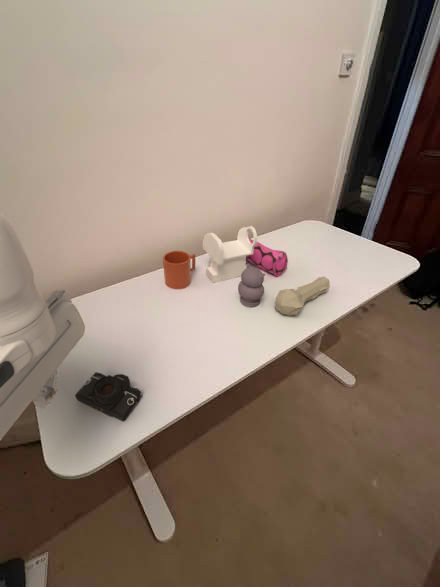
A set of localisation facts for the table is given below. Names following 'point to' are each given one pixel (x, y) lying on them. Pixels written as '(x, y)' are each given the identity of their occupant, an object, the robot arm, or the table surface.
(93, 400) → the film camera
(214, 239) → the tape dispenser
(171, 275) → the mug
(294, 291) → the faceted club
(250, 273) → the cat figurine
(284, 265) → the pencil case
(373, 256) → the table surface
